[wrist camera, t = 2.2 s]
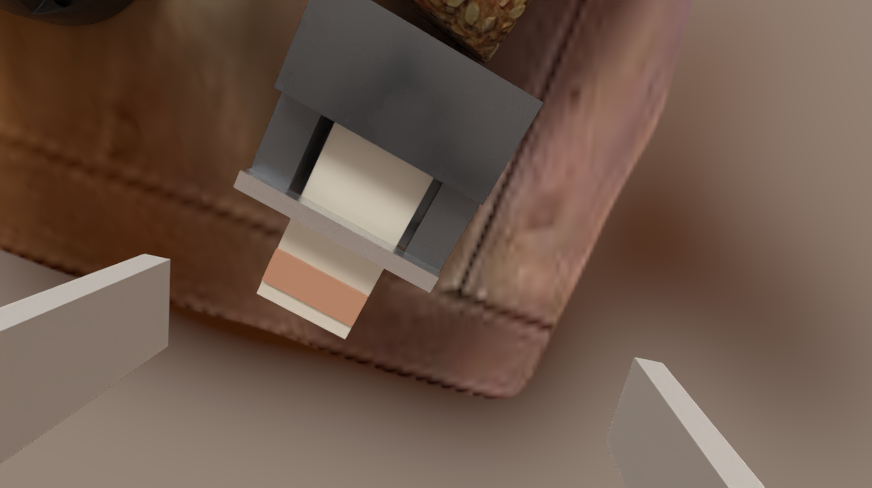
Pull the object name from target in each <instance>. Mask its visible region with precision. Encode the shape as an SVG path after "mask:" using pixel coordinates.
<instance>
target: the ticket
mask: <svg viewBox="0 0 872 488" xmlns="http://www.w3.org/2000/svg"><path fill="white" fill-rule="evenodd" d="M432 180H433V177H432V176H430V175H428V174H426V173H425V172H423V171H421V170H419V169H417V168H416V167H414V166H412V165H410V164H409V163H407V162H405V161H403V160H401V159H400V158H398V157H396V156H394V155H393V154H391V153H389V152H387V151H385V150H384V149H382V148H380V147H378V146H377V145H375V144H373V143H371V142H369V141H368V140H366V139H364V138H362V137H361V136H359V135H357V134H355V133H353V132H352V131H350V130H348V129H346V128H345V127H343V126H341V125H339V124H337V123H336V122H335V123H334V125H333V127H332V130H331V132H330V134H329V136H328V138H327V140H326V143H325V145H324V147H323V149H322V151H321V154H320V156H319V158H318V160H317V162H316V164H315V167H314V169H313V171H312V173H311V175H310V178H309V180H308V182H307V184H306V186H305V189H304V191H303V193H302V196H303V197H305V198H307V199H309V200H311V201H313V202H315V203H316V204H318V205H320V206H322V207H324V208H326V209H327V210H329V211H331V212H333V213H335V214H337V215H338V216H340V217H342V218H344V219H346V220H348V221H349V222H351V223H353V224H355V225H357V226H359V227H360V228H362V229H364V230H366V231H368V232H370V233H372V234H373V235H375V236H377V237H379V238H381V239H383V240H384V241H386V242H388V243H390V244H392V245H394V246H395V247H396V246H397V244H398V242H399V240H400V238H401V237H402V235H403V233H404V231H405V229H406V227H407V226H408V224H409V222H410V220H411V218H412V217H413V215H414V213H415V211H416V209H417V207H418V206H419V204H420V202H421V200H422V198H423V197H424V195H425V193H426V191H427V189H428V187H429V186H430V184H431V182H432ZM383 269H384V268H382V267H380V266H379V265H377V264H375V263H373V262H371V261H369V260H367V259H366V258H364V257H362V256H360V255H358V254H356V253H354V252H353V251H351V250H349V249H347V248H345V247H343V246H341V245H340V244H338V243H336V242H334V241H332V240H330V239H328V238H327V237H325V236H323V235H321V234H319V233H317V232H315V231H314V230H312V229H310V228H308V227H306V226H304V225H302V224H301V223H299V222H297V221H295V220H293V219H290V221H289V224H288V226H287V228H286V230H285V232H284V234H283V237H282V239H281V241H280V243H279V245H278V248H276V250H275V252H274V254H273V256H272V258H271V260H270V263H269V265H268V267H267V269H266V271H265V274H264V276H263V278H262V283H261V285H260V287H259V289H258V291H257V294H259V295H261V296H263V297H264V298H266V299H268V300H270V301H272V302H274V303H276V304H278V305H280V306H282V307H284V308H286V309H288V310H289V311H291V312H293V313H295V314H297V315H299V316H301V317H303V318H305V319H307V320H309V321H311V322H313V323H315V324H316V325H318V326H320V327H322V328H324V329H326V330H328V331H330V332H332V333H334V334H336V335H338V336H340V337H342V338H343V339H346V337H347V335H348V333H349V331H350V329H351V328H352V326H353V324H354V322H355V320H356V319H357V317H358V315H359V313H360V311H361V309H362V308H363V306H364V304H365V302H366V300H367V298H368V297H369V295H370V293H371V291H372V289H373V288H374V286H375V284H376V282H377V280H378V278H379V277H380V275H381V273H382V271H383Z"/></svg>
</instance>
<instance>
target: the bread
mask: <svg viewBox="0 0 872 488" xmlns="http://www.w3.org/2000/svg"><path fill="white" fill-rule="evenodd" d="M403 1H404V2H405V3H407V4H408V5H409V6H411V7H412V8H413V9H414V10H416V11H417V12H418V13H419V14H421V15H422V16H423V17H424V18H426V19H427V20H428V21H429V22H431V23H432V24H433V25H435V26H436V27H437V28H438V29H440V30H441V31H442V32H444V33H445V34H446V35H448V36H449V37H450V38H451V39H453V40H454V41H455V42H456V43H458V44H459V45H460V46H461V47H463V48H464V49H466V50H467V51H469V52H470V53H471V54H473V55H474V56H475V57H476V58H478V59H479V60H480V61H482V62H483V63H486V62H488V61H489V60H490V58H491V57H492V56H493V55H494V53H495V52H496V51H497V50H498V49H499V47H500V44H501V43H502V42H503V41H504V40H505V38H506V37H507V35H508V33H509V32H510V31H511V29H512V28H513V27H514V26H515V24H516V23H517V21H518V20H519V19H520V15H521V14H522V13H523V11H524V10H525V9H527V8H528V7H529V5H530V3H531V2H532V0H403Z"/></svg>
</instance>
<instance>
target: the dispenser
mask: <svg viewBox="0 0 872 488" xmlns="http://www.w3.org/2000/svg"><path fill="white" fill-rule="evenodd" d="M273 88H275V89H277V90H279V91H281V92H282V93H281V95H280V97H279V100H278V102H277V105H276V107H275V110H274V112H273V115H272V117H271V119H270V122H269V124H268V127H267V129H266V132H265V134H264V136H263V139H262V141H261V144H260V146H259V149H258V151H257V153H256V156H255V158H254V161H253V163H252V166H251V168H247V169H243V170H240V172H239V174H238V177H237V179H236V182H235V184H234V188H235V189H237V190H239V191H241V192H243V193H245V194H247V195H248V196H250V197H252V198H254V199H256V200H258V201H260V202H262V203H263V204H265V205H267V206H269V207H271V208H273V209H275V210H276V211H278V212H280V213H282V214H284V215H286V216H288V217H289V218H291V219H293V220H295V221H297V222H299V223H301V224H302V225H304V226H306V227H308V228H310V229H312V230H314V231H315V232H317V233H319V234H321V235H323V236H325V237H327V238H328V239H330V240H332V241H334V242H336V243H338V244H340V245H341V246H343V247H345V248H347V249H349V250H351V251H353V252H354V253H356V254H358V255H360V256H362V257H364V258H366V259H367V260H369V261H371V262H373V263H375V264H377V265H379V266H380V267H382V268H384V269H386V270H388V271H390V272H392V273H393V274H395V275H397V276H399V277H401V278H403V279H405V280H407V281H408V282H410V283H412V284H414V285H416V286H418V287H420V288H421V289H423V290H425V291H427V292H429V293H430V292H431V290H432V289H433V287H434V285H435V284H436V282H437V280H438V279H439V274H440V270H441V268H442V267H443V265H444V263H445V262H446V260H447V258H448V257H449V255H450V253H451V252H452V250H453V248H454V247H455V245H456V243H457V242H458V240H459V238H460V237H461V235H462V233H463V232H464V230H465V228H466V226H467V225H468V223H469V221H470V220H471V218H472V216H473V215H474V213H475V211H476V210H477V208H478V206H479V205H480V204H481V205H483V203H484V202H485V200H486V198H487V197H488V195H489V193H490V192H491V190H492V188H493V187H494V185H495V183H496V182H497V180H498V178H499V176H500V175H501V173H502V171H503V170H504V168H505V166H506V165H507V163H508V161H509V160H510V158H511V156H512V155H513V153H514V151H515V150H516V148H517V146H518V145H519V143H520V141H521V140H522V138H523V136H524V135H525V133H526V131H527V130H528V128H529V126H530V125H531V123H532V121H533V120H534V118H535V116H536V115H537V113H538V111H539V110H540V108H541V106H542V104H543V103H544V102H542V101H540V100H539V99H537V98H535V97H534V96H532V95H530V94H528V93H527V92H525V91H523V90H522V89H520V88H518V87H517V86H515V85H513V84H512V83H510V82H508V81H506V80H505V79H503V78H501V77H500V76H498V75H496V74H495V73H493V72H491V71H490V70H488V69H486V68H485V67H483V66H481V65H479V64H478V63H476V62H474V61H473V60H471V59H469V58H468V57H466V56H464V55H463V54H461V53H459V52H458V51H456V50H454V49H452V48H451V47H449V46H447V45H446V44H444V43H442V42H441V41H439V40H437V39H436V38H434V37H432V36H431V35H429V34H427V33H425V32H424V31H422V30H420V29H419V28H417V27H415V26H414V25H412V24H410V23H409V22H407V21H405V20H404V19H402V18H400V17H398V16H397V15H395V14H393V13H392V12H390V11H388V10H387V9H385V8H383V7H382V6H380V5H378V4H377V3H375V2H373V1H371V0H309V1H308V3H307V6H306V8H305V11H304V13H303V16H302V18H301V21H300V23H299V26H298V28H297V31H296V33H295V35H294V38H293V40H292V43H291V45H290V48H289V50H288V53H287V55H286V58H285V60H284V63H283V65H282V68H281V70H280V73H279V75H278V78H277V80H276V83H275V85H274V87H273ZM335 122H336V123H337V124H339V125H341V126H343V127H345V128H346V129H348V130H350V131H352V132H353V133H355V134H357V135H359V136H361V137H362V138H364V139H366V140H368V141H369V142H371V143H373V144H375V145H377V146H378V147H380V148H382V149H384V150H385V151H387V152H389V153H391V154H393V155H394V156H396V157H398V158H400V159H401V160H403V161H405V162H407V163H409V164H410V165H412V166H414V167H416V168H417V169H419V170H421V171H423V172H425V173H426V174H428V175H430V176H432V177H433V180H432V182H431V184H430V186H429V187H428V189H427V191H426V193H425V195H424V197H423V198H422V200H421V202H420V204H419V206H418V207H417V209H416V211H415V213H414V215H413V217H412V218H411V220H410V222H409V224H408V226H407V227H406V229H405V231H404V233H403V235H402V237H401V238H400V240H399V242H398V244H397V245H399V246H401V247H403V248H404V251H403V250H401V249H399V248H397V247H395V246H394V245H392V244H390V243H388V242H386V241H384V240H383V239H381V238H379V237H377V236H375V235H373V234H372V233H370V232H368V231H366V230H364V229H362V228H360V227H359V226H357V225H355V224H353V223H351V222H349V221H348V220H346V219H344V218H342V217H340V216H338V215H337V214H335V213H333V212H331V211H329V210H327V209H326V208H324V207H322V206H320V205H318V204H316V203H315V202H313V201H311V200H309V199H307V198H305V197H303V196H302V193H303V191H304V189H305V186H306V184H307V182H308V180H309V178H310V175H311V173H312V171H313V169H314V167H315V164H316V162H317V160H318V158H319V156H320V154H321V151H322V149H323V147H324V145H325V143H326V140H327V138H328V136H329V134H330V132H331V130H332V127H333V125H334V123H335Z"/></svg>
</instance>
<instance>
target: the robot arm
mask: <svg viewBox="0 0 872 488" xmlns="http://www.w3.org/2000/svg"><path fill="white" fill-rule="evenodd" d="M131 1H132V0H0V9H2V10H5V11H8V12H10V13H13V14H16V15H20V16H24V17H28V18H32V19H36V20H40V21H45V22H49V23H54V24H60V25H85V24H91V23H95V22H98V21H101V20H104V19H106V18H108V17H110V16H112V15H114V14H116V13H117V12H119V11H120V10H122V9H123V8H124V7H126V6H127V5H128V4H129V3H130V2H131ZM169 292H170V259H166V258H162V257H157V256H152V255H147V254H142V255H140V256H137V257H134V258H132V259H129V260H126V261H124V262H121V263H118V264H115V265H113V266H110V267H107V268H105V269H102V270H99V271H97V272H94V273H91V274H89V275H86V276H83V277H81V278H78V279H75V280H72V281H70V282H67V283H64V284H62V285H59V286H56V287H54V288H51V289H48V290H46V291H43V292H40V293H38V294H35V295H32V296H30V297H27V298H24V299H21V300H19V301H16V302H14V303H11V304H8V305H5V306H3V307H0V464H2V463H3V462H4V461H6V460H7V459H9V458H10V457H11V456H13V455H14V454H16V453H17V452H19V451H20V450H22V449H23V448H24V447H26V446H27V445H29V444H30V443H31V442H33V441H34V440H36V439H37V438H39V437H40V436H41V435H43V434H44V433H46V432H47V431H48V430H50V429H51V428H53V427H54V426H56V425H57V424H58V423H60V422H61V421H63V420H64V419H65V418H67V417H68V416H70V415H71V414H72V413H74V412H75V411H77V410H78V409H80V408H81V407H82V406H84V405H85V404H87V403H88V402H90V401H91V400H92V399H94V398H95V397H97V396H98V395H99V394H101V393H102V392H104V391H105V390H106V389H108V388H109V387H111V386H112V385H114V384H115V383H117V382H118V381H119V380H121V379H122V378H124V377H125V376H126V375H128V374H129V373H131V372H132V371H134V370H135V369H136V368H138V367H139V366H141V365H142V364H143V363H145V362H146V361H148V360H149V359H151V358H152V357H153V356H155V355H156V354H158V353H159V352H160V351H162V350H163V349H165V348H166V347H168V332H169V329H168V328H169ZM605 442H606V445H607V447H608V449H609V451H610V454H611V456H612V458H613V461H614V463H615V465H616V468H617V470H618V472H619V475H620V477H621V479H622V482H623V484H624V486H625V488H765V487H764V486H763V485H762V483H761V482H760V481H759V480H758V479H757V478H756V476H755V475H754V474H753V472H752V471H751V470H750V469H749V468H748V466H747V465H746V464H745V463H744V462H743V460H742V459H741V458H740V457H739V455H738V454H737V453H736V452H735V451H734V449H733V448H732V447H731V446H730V445H729V443H728V442H727V441H726V440H725V438H724V437H723V436H722V435H721V434H720V432H719V431H718V430H717V429H716V428H715V427H714V425H713V424H712V423H711V421H710V420H709V419H708V418H707V417H706V415H705V414H704V413H703V412H702V410H700V408H699V407H698V406H697V404H696V403H695V402H694V401H693V400H692V398H691V397H690V396H689V395H688V394H687V392H686V391H685V390H684V389H683V387H682V386H681V385H680V384H679V383H678V381H677V380H676V379H675V378H674V377H673V375H672V374H671V373H670V372H669V370H668V369H667V368H666V367H665V366H664V364H663V363H660V362H655V361H650V360H645V359H641V358H636V357H635V358H634V360H633V363H632V366H631V368H630V371H629V374H628V377H627V380H626V383H625V385H624V388H623V391H622V394H621V397H620V400H619V402H618V405H617V408H616V411H615V414H614V417H613V419H612V423H611V425H610V428H609V431H608V434H607V437H606V439H605Z"/></svg>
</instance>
